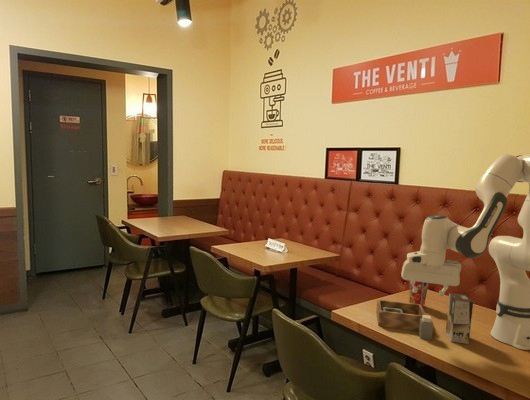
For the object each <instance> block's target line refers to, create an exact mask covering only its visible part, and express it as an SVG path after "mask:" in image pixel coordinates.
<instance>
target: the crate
mask: <svg viewBox="0 0 530 400" xmlns="http://www.w3.org/2000/svg"><path fill="white" fill-rule="evenodd" d="M375 313H376V319H377V326H379V327H387V328H394V329H395V328H396V329H402V330H410V331H411V330H412V331H417V332H419V325H420V318H422V315H426V312H425V310H424V307H422V306H421V304H413V303H410V302H403V301H393V300H383V299H376V311H375Z"/></svg>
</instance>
